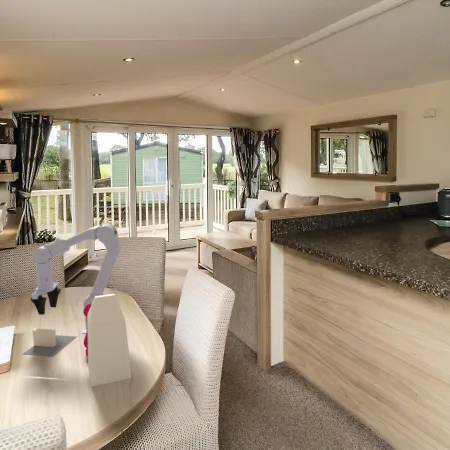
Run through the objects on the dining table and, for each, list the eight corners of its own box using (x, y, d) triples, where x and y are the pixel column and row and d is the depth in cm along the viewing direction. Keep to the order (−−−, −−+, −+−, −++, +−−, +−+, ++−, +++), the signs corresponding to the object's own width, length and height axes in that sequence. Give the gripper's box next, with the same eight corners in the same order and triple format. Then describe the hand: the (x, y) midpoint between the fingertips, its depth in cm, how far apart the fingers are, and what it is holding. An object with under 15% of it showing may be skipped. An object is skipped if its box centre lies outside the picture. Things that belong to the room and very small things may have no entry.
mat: (77, 337, 150) (77, 336, 150) (53, 357, 134) (53, 356, 134) (48, 335, 152) (48, 334, 152) (22, 355, 136) (21, 354, 136)
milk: (91, 386, 116) (85, 304, 113) (88, 368, 127) (83, 292, 123) (131, 377, 121) (127, 298, 117) (125, 361, 132) (121, 287, 128)
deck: (56, 344, 143) (55, 329, 142) (53, 346, 142) (52, 331, 141) (36, 343, 144) (35, 328, 143) (33, 345, 143) (32, 330, 142)
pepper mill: (83, 350, 139) (80, 297, 136) (104, 346, 142) (101, 294, 139) (85, 359, 133) (81, 304, 130) (106, 355, 136) (103, 301, 132)
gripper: (46, 271, 157) (49, 303, 160) (22, 282, 143) (26, 317, 145) (62, 272, 156) (65, 304, 158) (40, 283, 142) (43, 318, 144)
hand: (47, 310), depth 152 cm, fingers open, 7 cm apart
